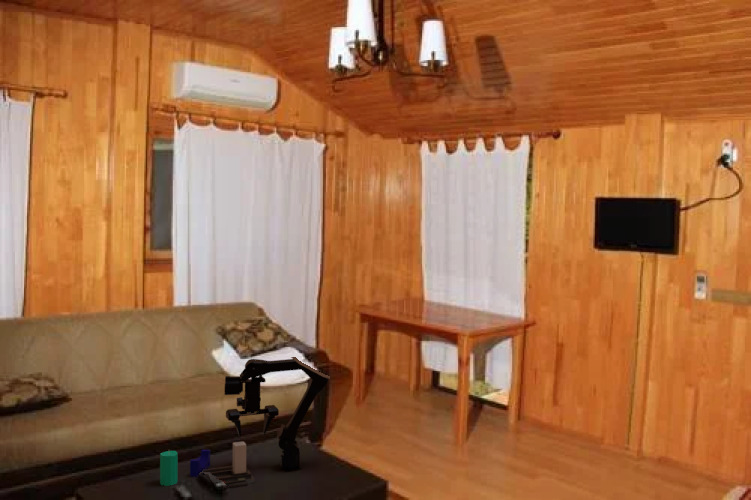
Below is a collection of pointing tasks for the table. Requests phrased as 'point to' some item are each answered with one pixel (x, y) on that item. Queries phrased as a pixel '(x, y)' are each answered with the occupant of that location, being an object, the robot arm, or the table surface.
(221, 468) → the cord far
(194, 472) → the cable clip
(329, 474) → the table surface
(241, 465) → the pinkish beige rectangular block
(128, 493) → the table surface
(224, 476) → the panel
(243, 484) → the cord near
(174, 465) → the candle
